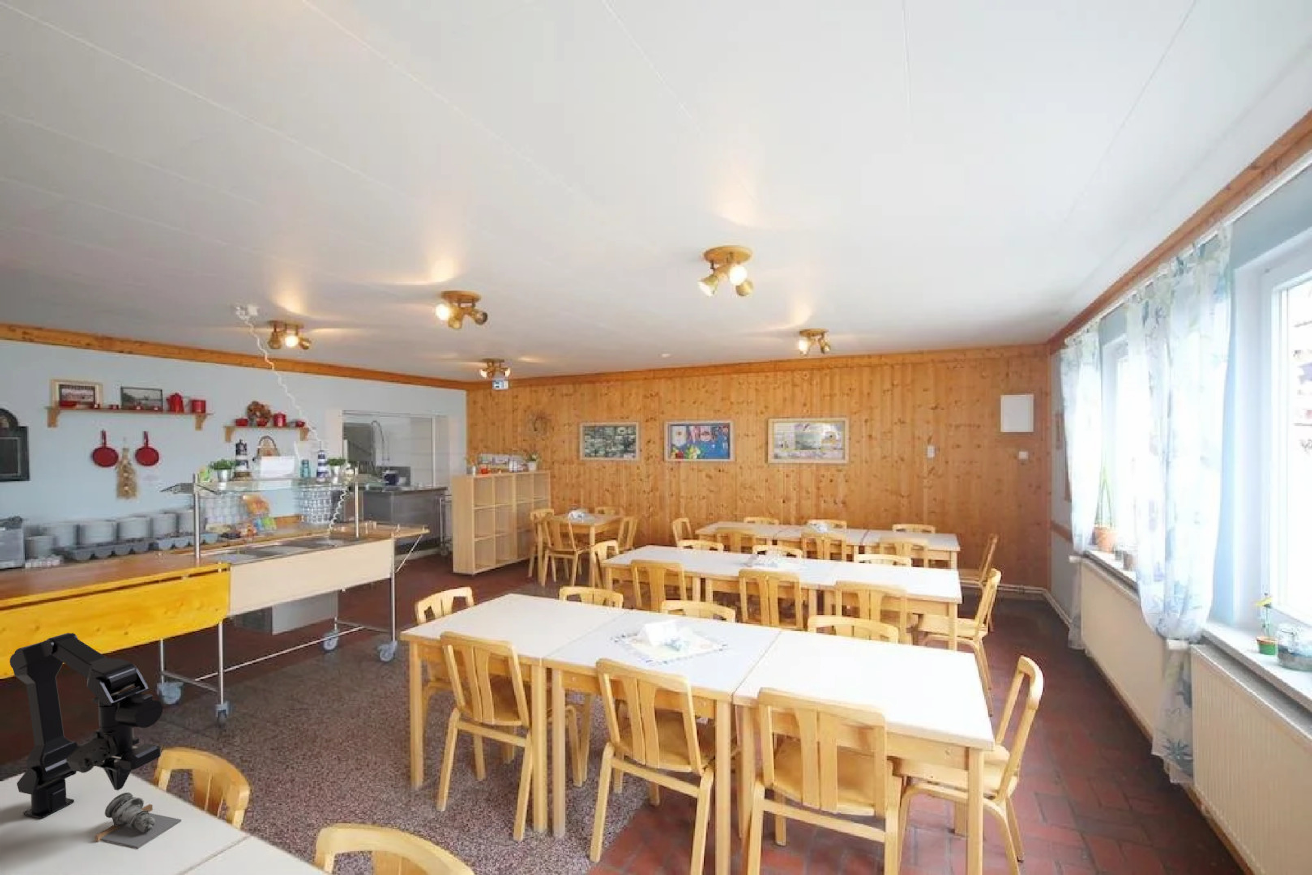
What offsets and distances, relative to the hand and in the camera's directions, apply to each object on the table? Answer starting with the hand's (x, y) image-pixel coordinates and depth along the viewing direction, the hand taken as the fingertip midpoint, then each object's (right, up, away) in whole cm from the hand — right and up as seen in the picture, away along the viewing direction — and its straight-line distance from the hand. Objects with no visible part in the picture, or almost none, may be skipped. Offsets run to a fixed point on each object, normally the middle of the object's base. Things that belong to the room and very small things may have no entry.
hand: (118, 789), depth 134 cm
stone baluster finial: (0, -4, 0) cm, 4 cm away
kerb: (+2, -8, 0) cm, 8 cm away
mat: (+7, -8, -2) cm, 11 cm away
